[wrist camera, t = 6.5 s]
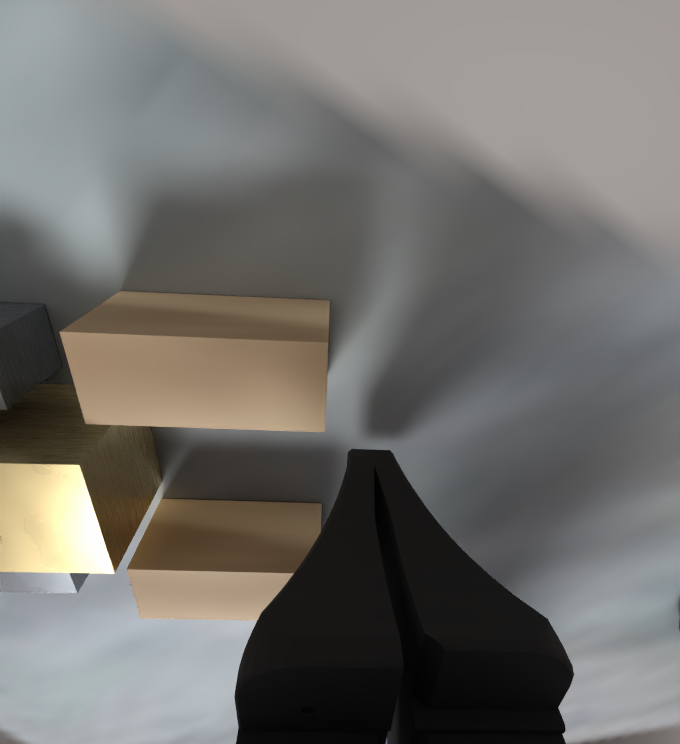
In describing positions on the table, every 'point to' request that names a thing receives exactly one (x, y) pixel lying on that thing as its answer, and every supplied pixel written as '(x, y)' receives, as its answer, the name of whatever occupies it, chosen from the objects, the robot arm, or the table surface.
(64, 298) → the table surface
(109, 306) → the beam
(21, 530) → the block
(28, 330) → the cradle
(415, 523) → the robot arm
